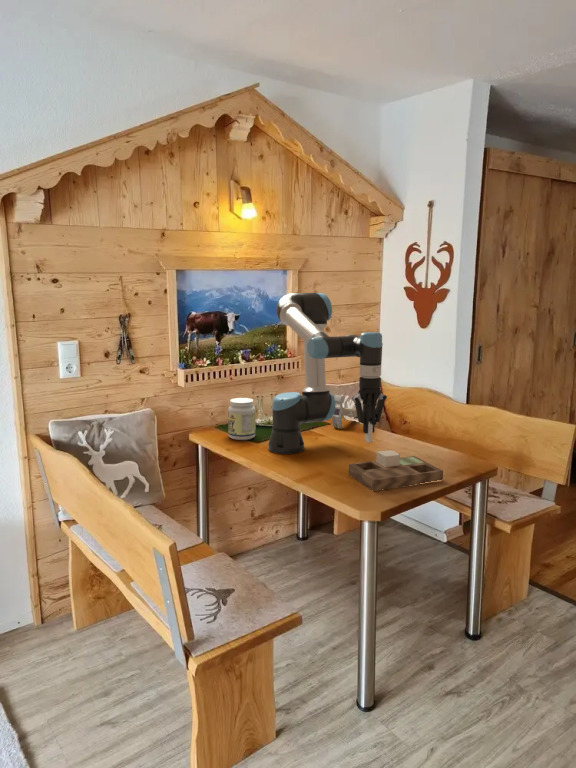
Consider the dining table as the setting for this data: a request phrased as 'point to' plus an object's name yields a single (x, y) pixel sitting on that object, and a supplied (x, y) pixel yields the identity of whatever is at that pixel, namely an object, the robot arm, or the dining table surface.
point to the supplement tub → (241, 419)
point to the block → (388, 458)
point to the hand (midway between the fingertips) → (368, 441)
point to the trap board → (394, 473)
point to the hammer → (341, 412)
